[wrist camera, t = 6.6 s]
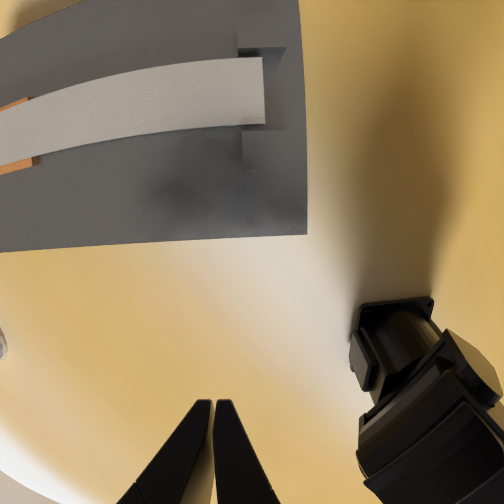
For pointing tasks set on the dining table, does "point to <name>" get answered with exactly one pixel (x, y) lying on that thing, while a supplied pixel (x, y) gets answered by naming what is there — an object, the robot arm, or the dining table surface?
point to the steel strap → (136, 106)
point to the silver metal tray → (162, 143)
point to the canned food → (2, 347)
